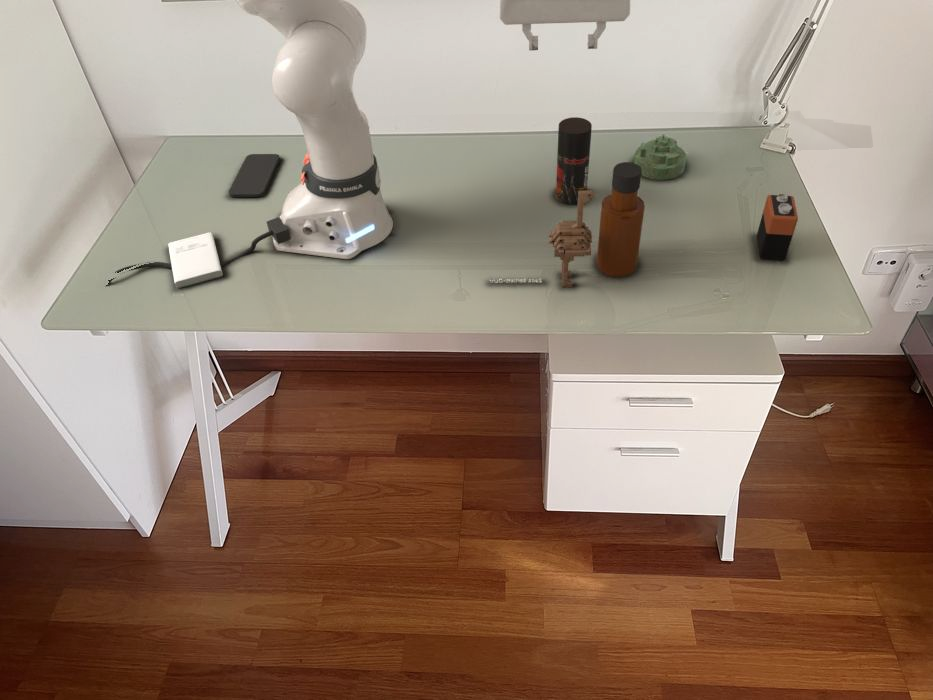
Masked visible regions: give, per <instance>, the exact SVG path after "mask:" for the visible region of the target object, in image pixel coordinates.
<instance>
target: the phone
mask: <svg viewBox="0 0 933 700" xmlns="http://www.w3.org/2000/svg"><path fill="white" fill-rule="evenodd" d="M280 160H281V158H280V154H277V153H251V154H248V155H246V156H245V158H244V160H243V162H242V165H241V166H240V168H239V170H238V172H237V175H236V176H235V178H234V180H233V181H232V184H231V186H230V187H229V190H228V194H229V197H230V198H262V197H263V196H264V195H265V194H266V192H267V189H268V187H269V185H270V183H271V180H272V178H273V177H274V174H275V172H276V169H277V167H278V165H279V163H280Z"/></svg>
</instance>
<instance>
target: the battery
mask: <svg viewBox="0 0 933 700" xmlns="http://www.w3.org/2000/svg"><path fill="white" fill-rule="evenodd" d="M798 220H799V215H798V211H797V206H796V201H795V197H794V196H793V195H788V194H786V193H783V192H781V193H778V194H768V195H767V196H766V200H765V204H764V207H763V211H762V215H761V218H760V221H759V226H758V229H757V232H756V243H757V250H758V251H757V252H758V257H759V259H760V260H769V261H785V260H786V259H787V255H788V252H789V249H790V246H791V242H792V239H793V237H794V233H795V231H796V227H797V223H798Z"/></svg>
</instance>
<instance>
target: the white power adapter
mask: <svg viewBox="0 0 933 700" xmlns="http://www.w3.org/2000/svg"><path fill="white" fill-rule="evenodd" d="M167 245H168V252H169V259H170V264H171V265H172V269H171V270H172V276H173V281H174V285H175V287H176V289H181V288H185V287H189V286H192V285H196V284H200V283H204V282H208V281H212V280H215V279H217V278H221V277H223V276H224V274H223V270H222V267H221V266H220V263H221V262H220V259H219V254H218V250H217V246H216V242H215V238H214V235H213V232H211V231H210V232H205V233H202V234H198V235H193V236H190V237H186V238H182V239H178V240H175V241H170V242H168V244H167Z"/></svg>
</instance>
